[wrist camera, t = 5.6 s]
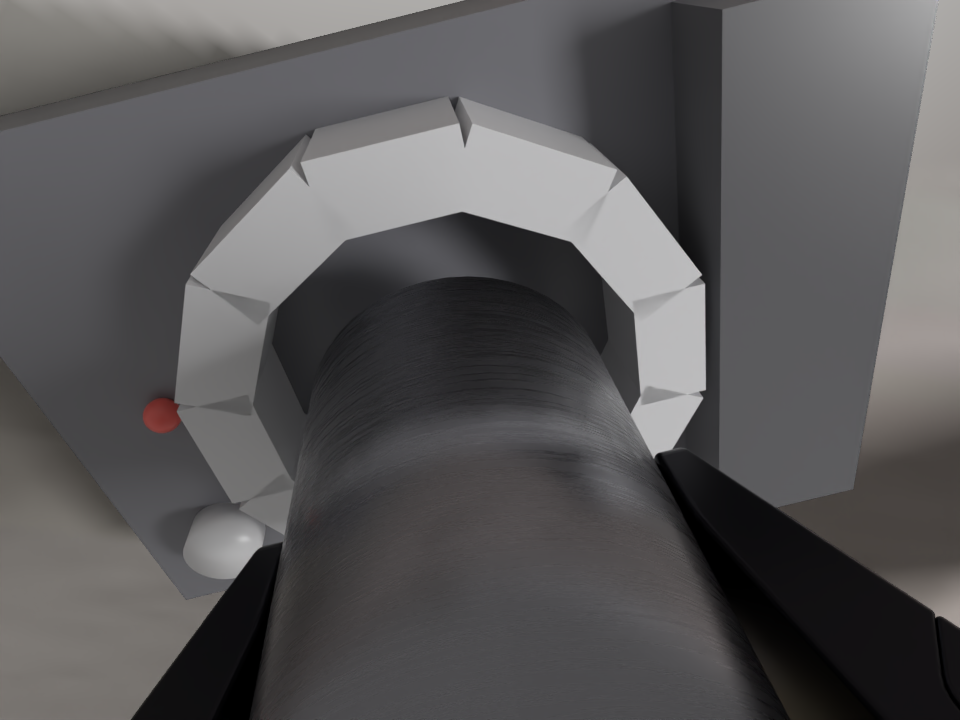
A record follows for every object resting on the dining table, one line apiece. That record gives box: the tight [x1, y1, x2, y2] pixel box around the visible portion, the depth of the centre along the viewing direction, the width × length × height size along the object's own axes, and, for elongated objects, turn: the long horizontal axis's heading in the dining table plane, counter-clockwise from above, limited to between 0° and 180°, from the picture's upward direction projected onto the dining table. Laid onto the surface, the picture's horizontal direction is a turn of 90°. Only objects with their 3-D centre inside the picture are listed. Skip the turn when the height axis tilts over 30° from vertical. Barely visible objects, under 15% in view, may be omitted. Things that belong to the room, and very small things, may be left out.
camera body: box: [0, 0, 939, 600], centre depth 13 cm, size 16×11×5 cm
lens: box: [249, 276, 790, 720], centre depth 7 cm, size 5×5×9 cm
